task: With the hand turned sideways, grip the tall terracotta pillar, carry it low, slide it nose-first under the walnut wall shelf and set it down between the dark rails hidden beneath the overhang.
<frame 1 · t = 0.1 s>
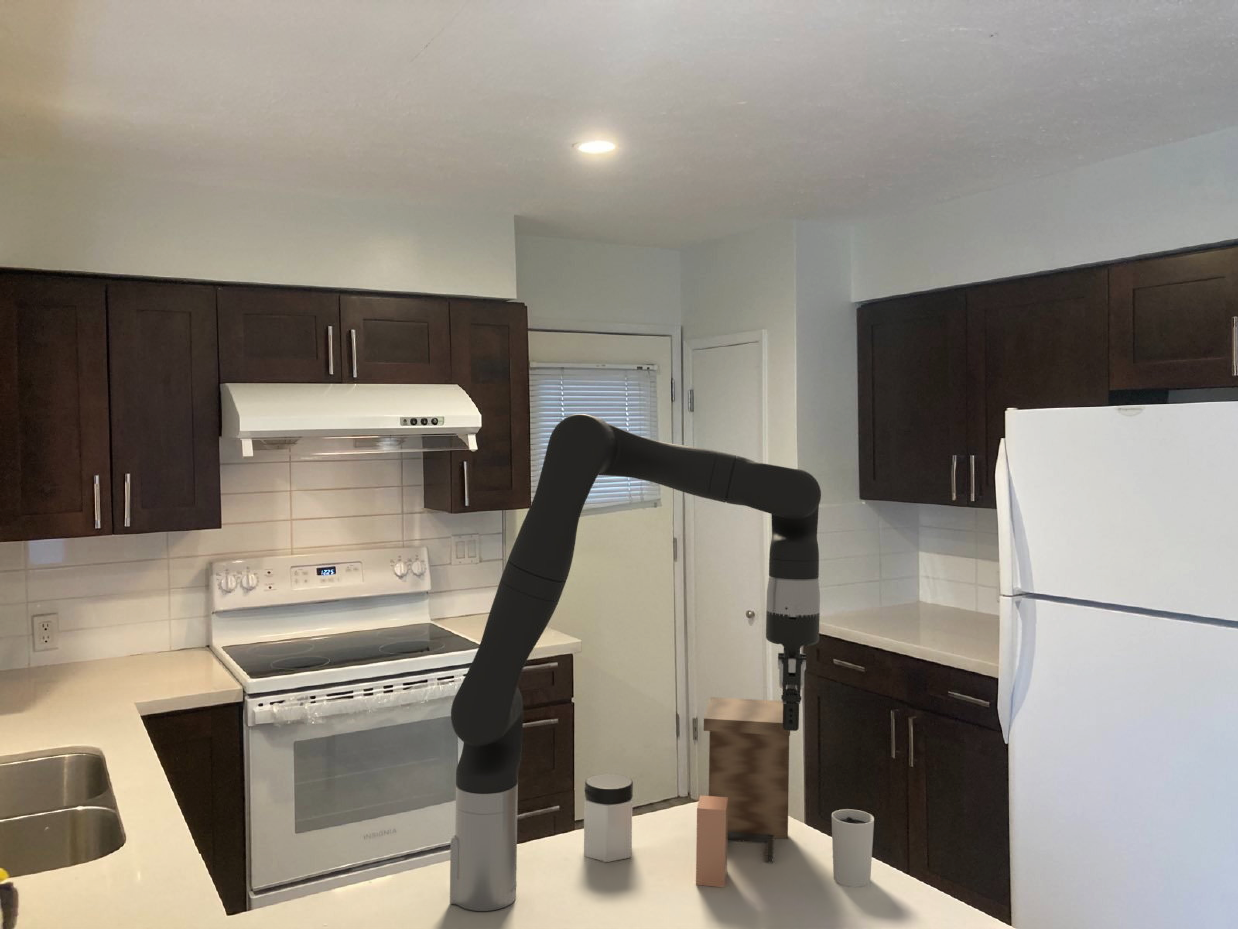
hand: (790, 721, 141), 29 cm above the counter, tool pointing down, fingers open, 8 cm apart
jar: (608, 853, 167), on the counter
shelf: (746, 851, 168), on the counter
white cup: (851, 880, 157), on the counter
tall terracotta pillar: (711, 878, 157), on the counter
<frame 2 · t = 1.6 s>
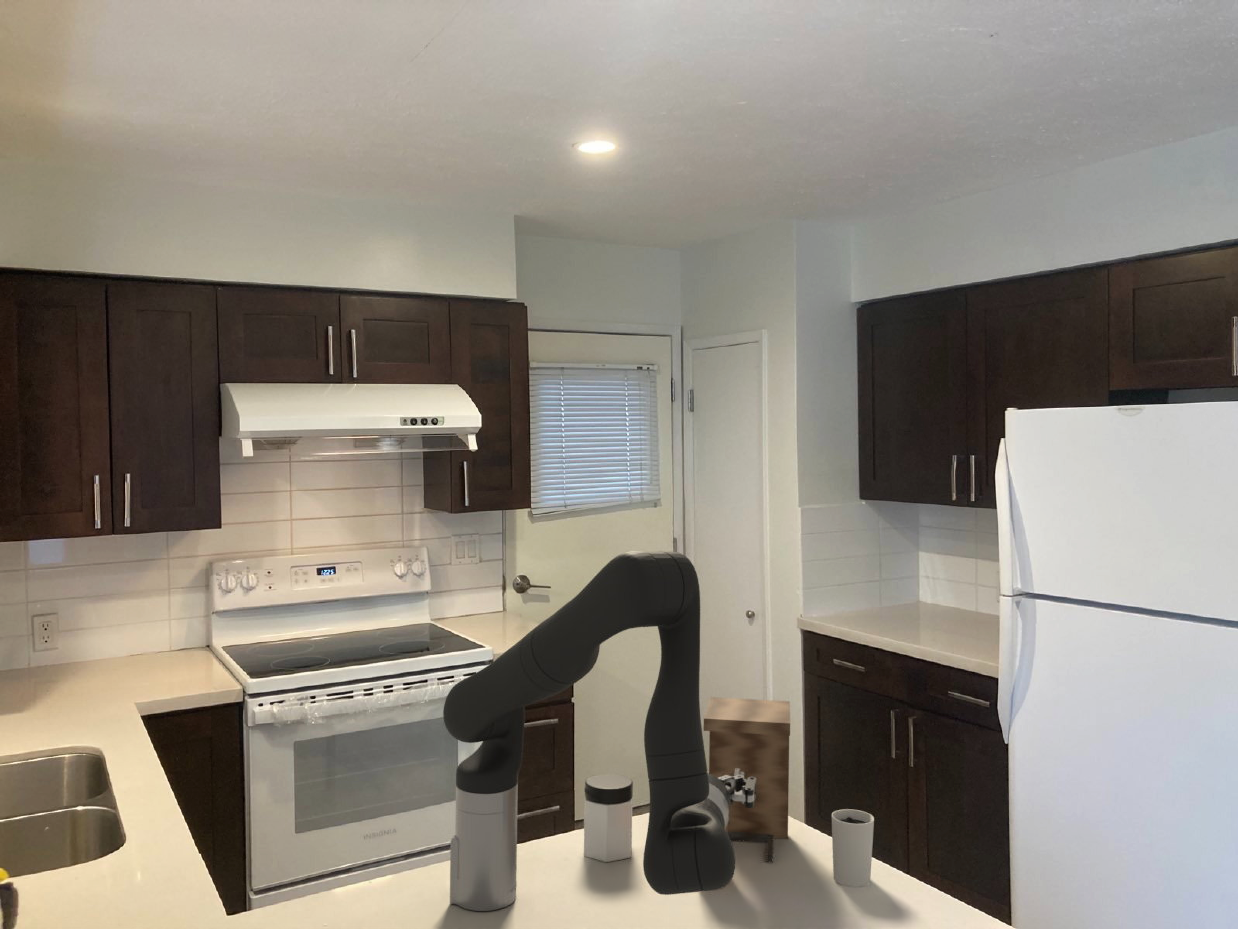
hand: (708, 773, 146), 20 cm above the counter, tool horizontal, fingers open, 8 cm apart
nothing on the counter moved.
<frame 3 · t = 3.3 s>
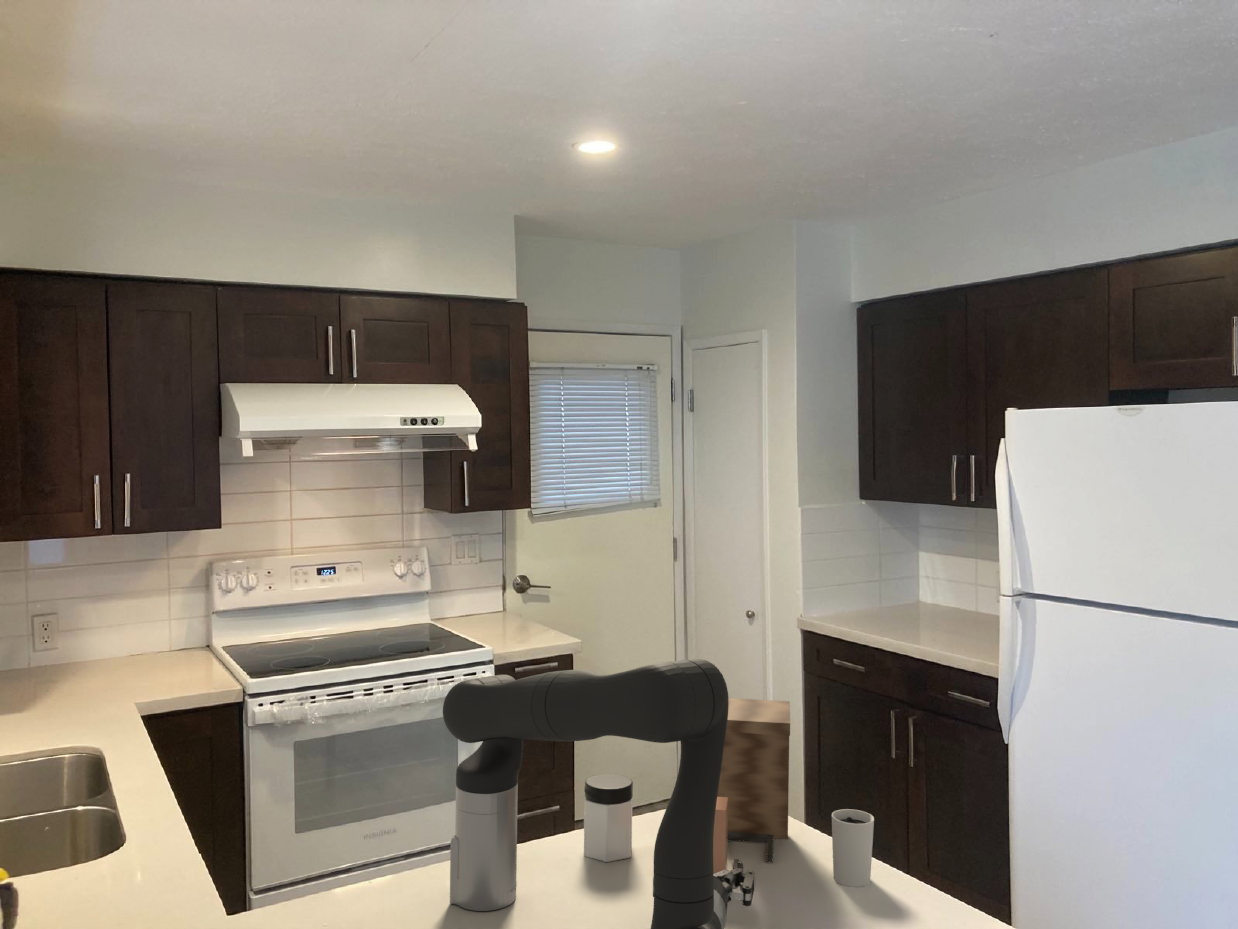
hand: (707, 863, 146), 7 cm above the counter, tool horizontal, fingers open, 8 cm apart
nothing on the counter moved.
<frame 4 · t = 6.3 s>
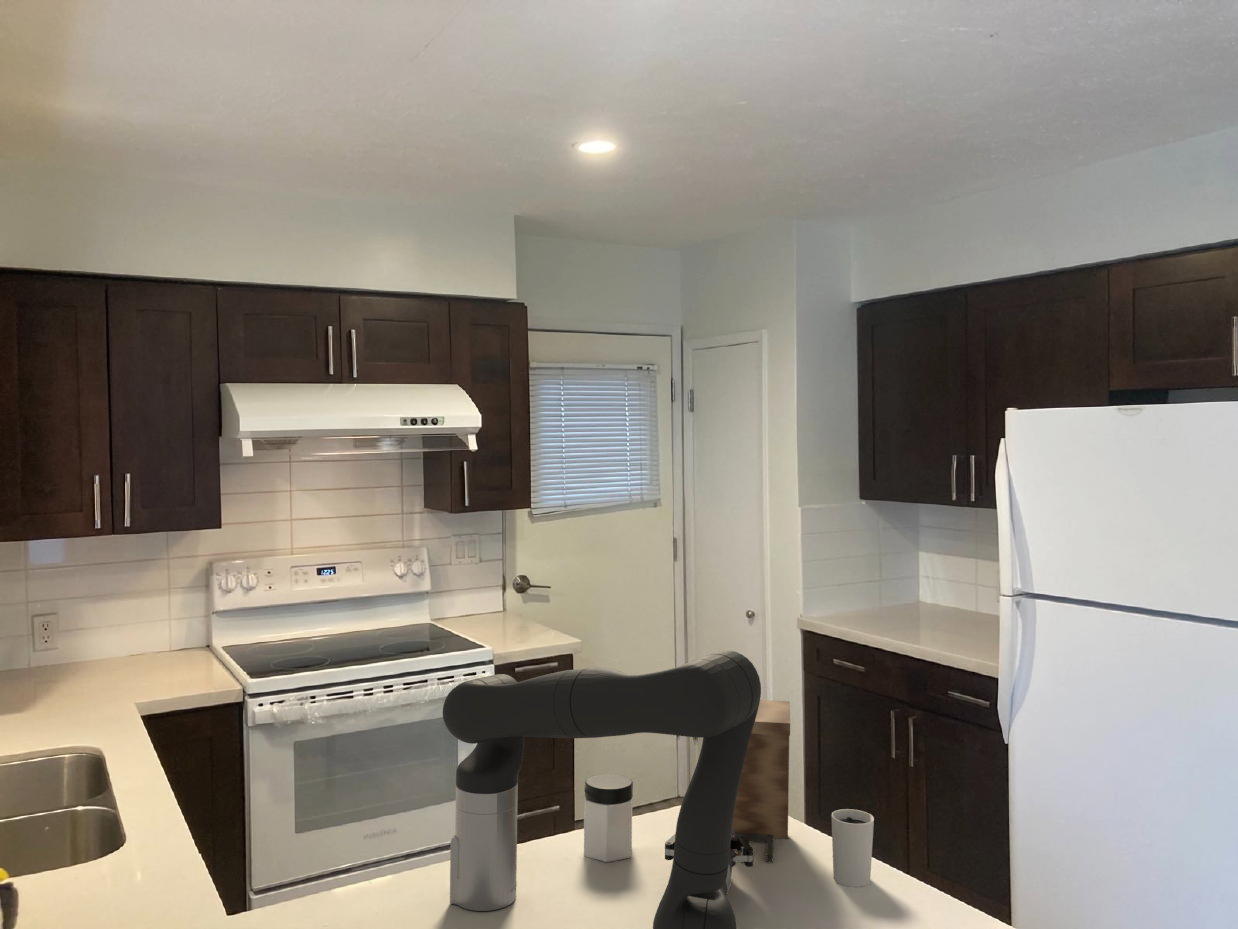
hand: (713, 831, 159), 6 cm above the counter, tool horizontal, fingers closed on tall terracotta pillar, 4 cm apart
tall terracotta pillar: (711, 878, 157), on the counter, touching gripper
everything else where it was.
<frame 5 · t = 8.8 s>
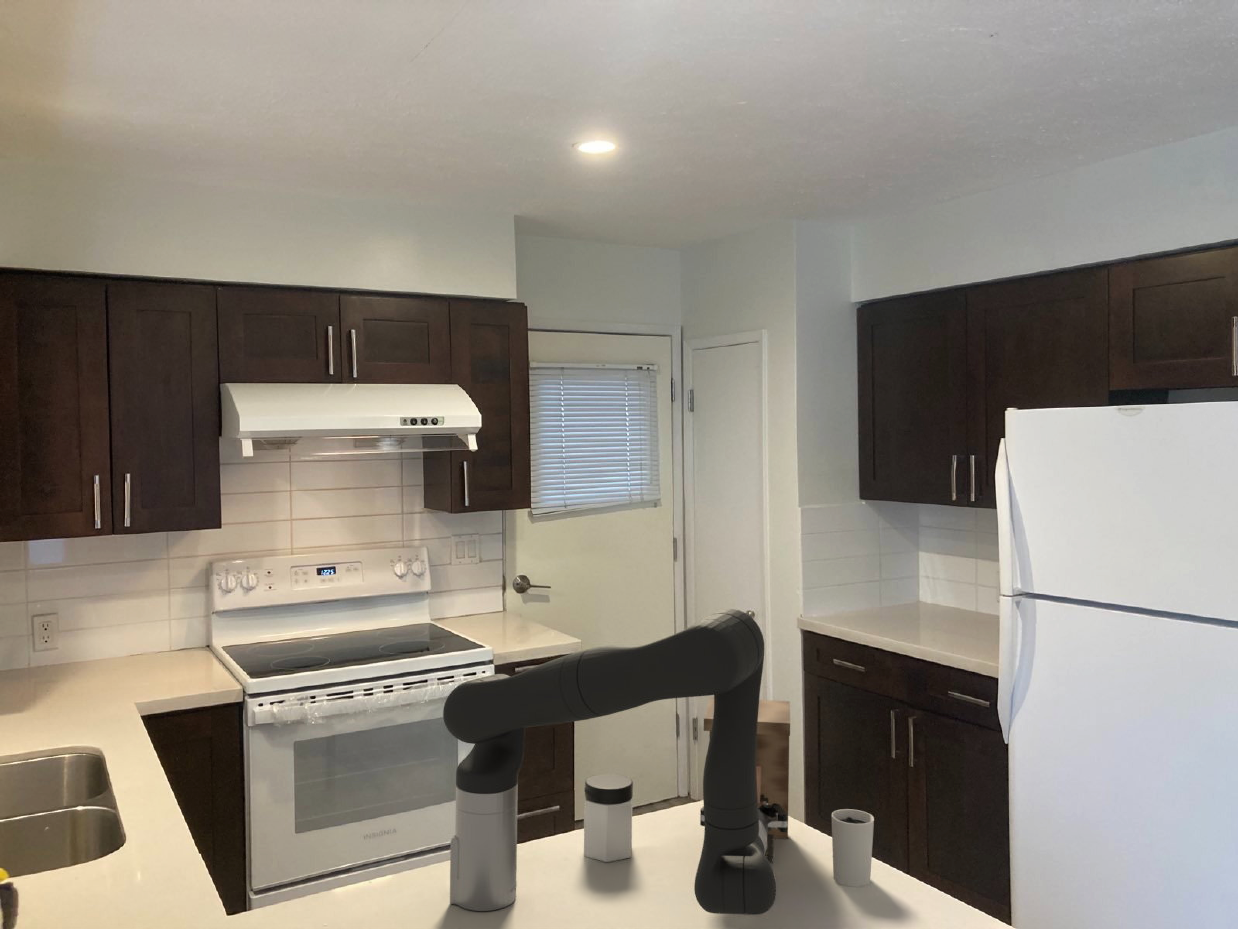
hand: (746, 799, 162), 11 cm above the counter, tool horizontal, fingers closed on tall terracotta pillar, 4 cm apart
tall terracotta pillar: (745, 845, 159), point 4 cm above the counter, touching gripper
everything else where it was.
when the fingers open (8 cm above the counter, at t = 11.5 s): tall terracotta pillar drops 1 cm, on the counter.
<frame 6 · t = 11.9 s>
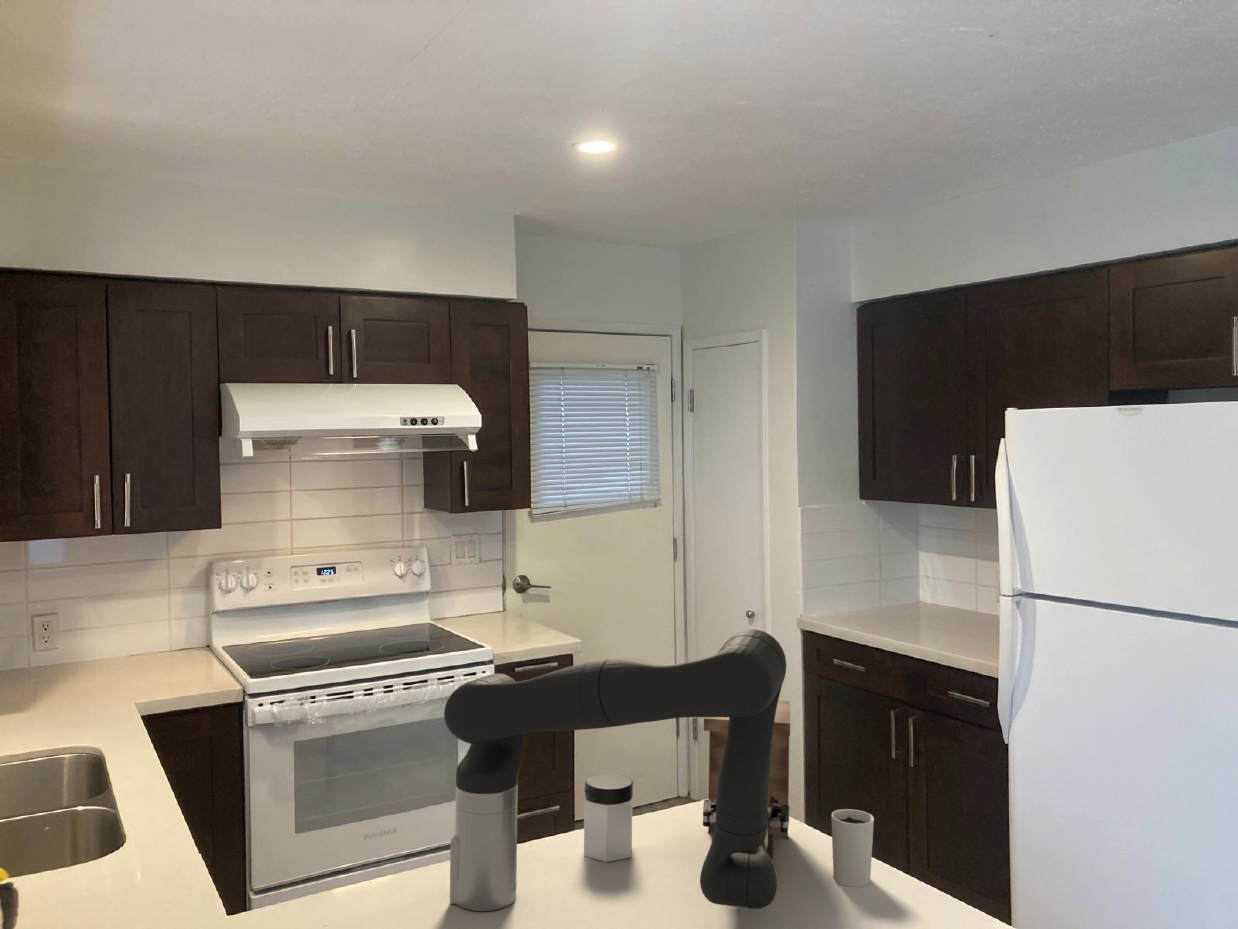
hand: (747, 800, 170), 8 cm above the counter, tool horizontal, fingers open, 8 cm apart
tall terracotta pillar: (746, 851, 168), on the counter
everything else where it was.
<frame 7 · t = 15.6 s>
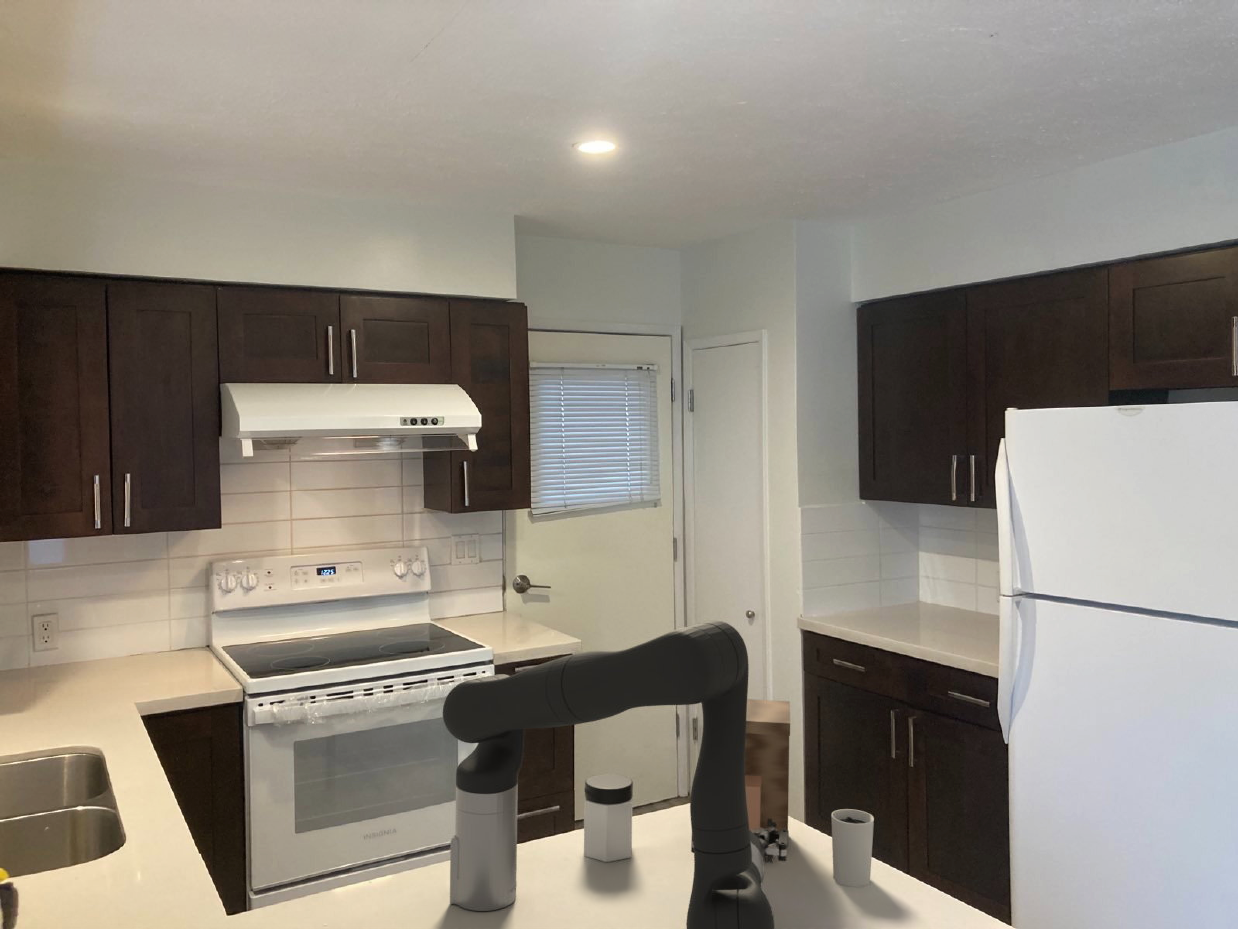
hand: (741, 822, 152), 11 cm above the counter, tool horizontal, fingers open, 8 cm apart
nothing on the counter moved.
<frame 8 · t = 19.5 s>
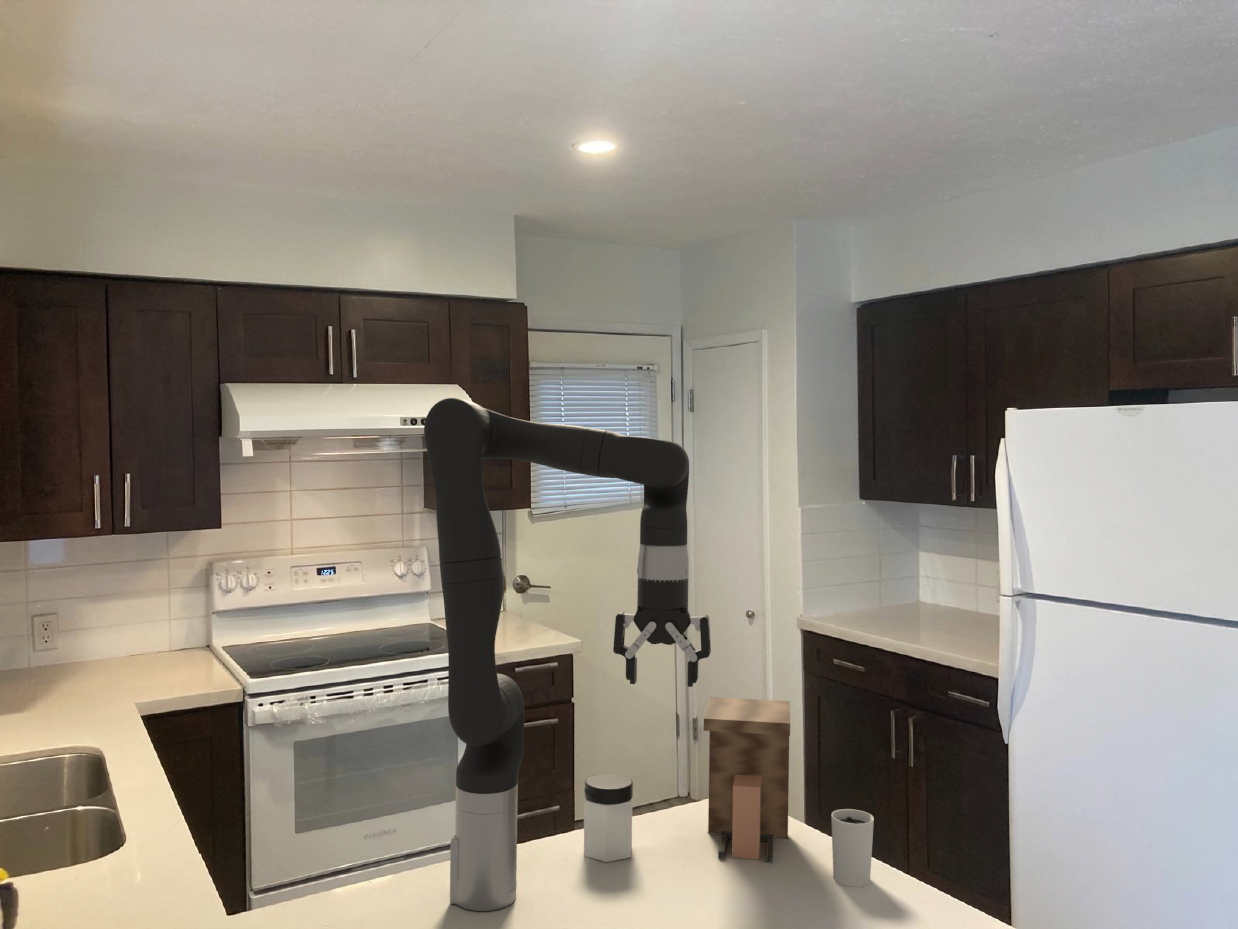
hand: (661, 684, 146), 33 cm above the counter, tool pointing down, fingers open, 8 cm apart
nothing on the counter moved.
at the end: tall terracotta pillar 0.0 cm off-centre on the shelf, point 0.0 cm above the shelf's base; tall terracotta pillar tilted 0°; the gripper is holding nothing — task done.
